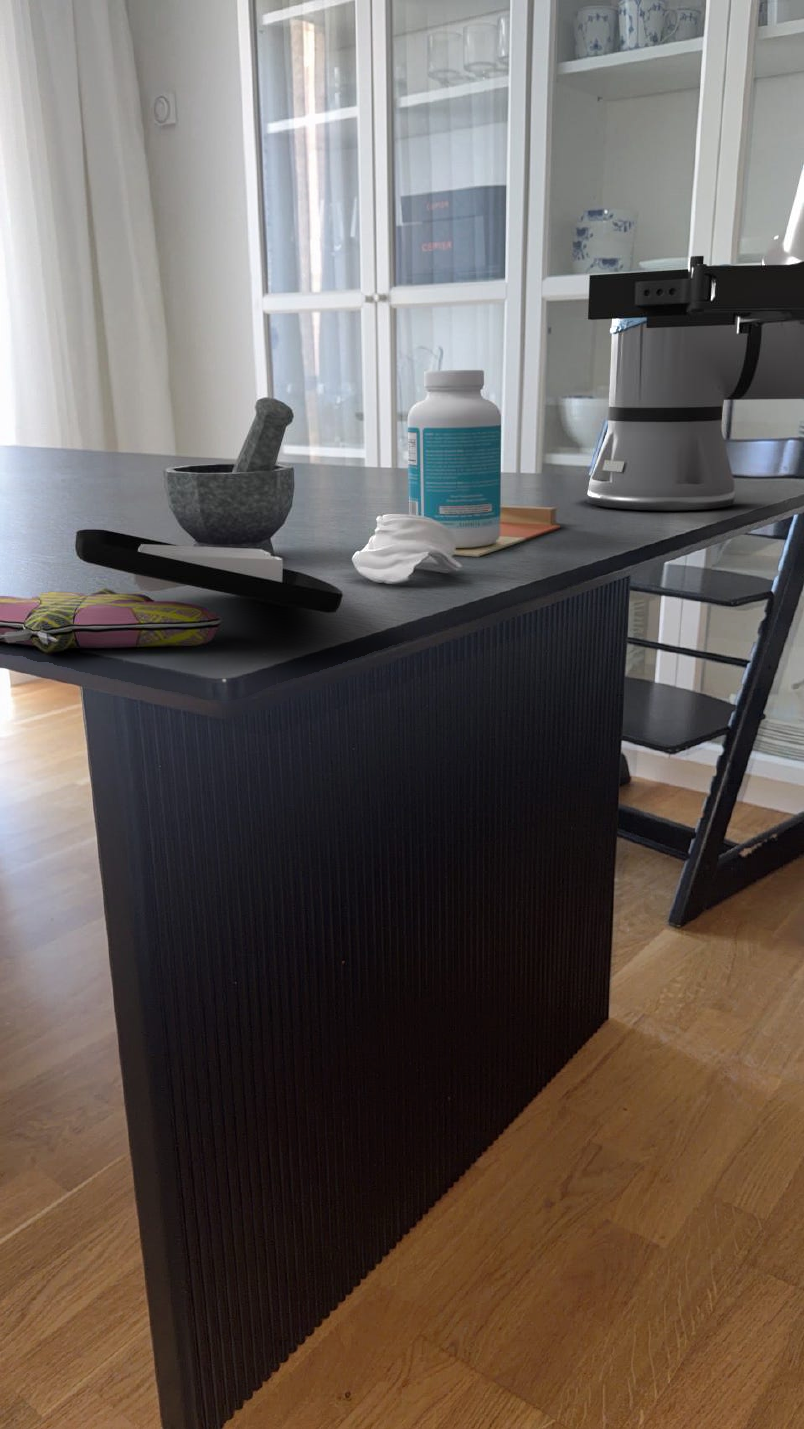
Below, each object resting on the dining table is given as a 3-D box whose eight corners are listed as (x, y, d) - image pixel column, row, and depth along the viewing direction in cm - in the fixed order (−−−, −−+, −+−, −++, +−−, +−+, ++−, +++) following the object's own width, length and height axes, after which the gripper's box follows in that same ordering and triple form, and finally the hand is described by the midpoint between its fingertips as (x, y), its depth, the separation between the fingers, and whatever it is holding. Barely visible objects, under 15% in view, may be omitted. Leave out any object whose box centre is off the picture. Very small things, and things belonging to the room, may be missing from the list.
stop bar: (496, 521, 101) (497, 504, 101) (556, 525, 99) (556, 507, 98) (490, 523, 100) (491, 506, 100) (550, 527, 97) (551, 509, 97)
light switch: (54, 578, 48) (352, 638, 51) (65, 514, 47) (365, 579, 51) (86, 557, 67) (303, 602, 70) (94, 511, 66) (312, 559, 70)
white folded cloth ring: (335, 589, 75) (324, 519, 73) (402, 567, 79) (393, 502, 77) (415, 595, 69) (406, 521, 68) (483, 572, 73) (475, 501, 72)
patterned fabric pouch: (251, 587, 59) (181, 631, 50) (253, 625, 60) (185, 675, 50) (-20, 579, 62) (-134, 619, 53) (-15, 615, 63) (-126, 660, 53)
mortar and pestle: (144, 561, 81) (130, 398, 78) (231, 546, 88) (222, 396, 85) (250, 576, 75) (240, 398, 71) (335, 558, 82) (330, 396, 78)
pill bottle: (518, 542, 87) (522, 369, 83) (459, 553, 82) (459, 369, 78) (450, 534, 92) (450, 370, 88) (390, 544, 87) (387, 371, 83)
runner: (480, 523, 101) (480, 521, 101) (560, 527, 97) (560, 525, 97) (388, 550, 86) (388, 547, 85) (478, 556, 82) (478, 554, 82)
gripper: (936, 346, 56) (558, 356, 66) (954, 355, 77) (665, 362, 87) (956, 191, 54) (562, 225, 64) (969, 243, 75) (670, 263, 85)
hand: (620, 304), depth 76 cm, fingers open, 13 cm apart
